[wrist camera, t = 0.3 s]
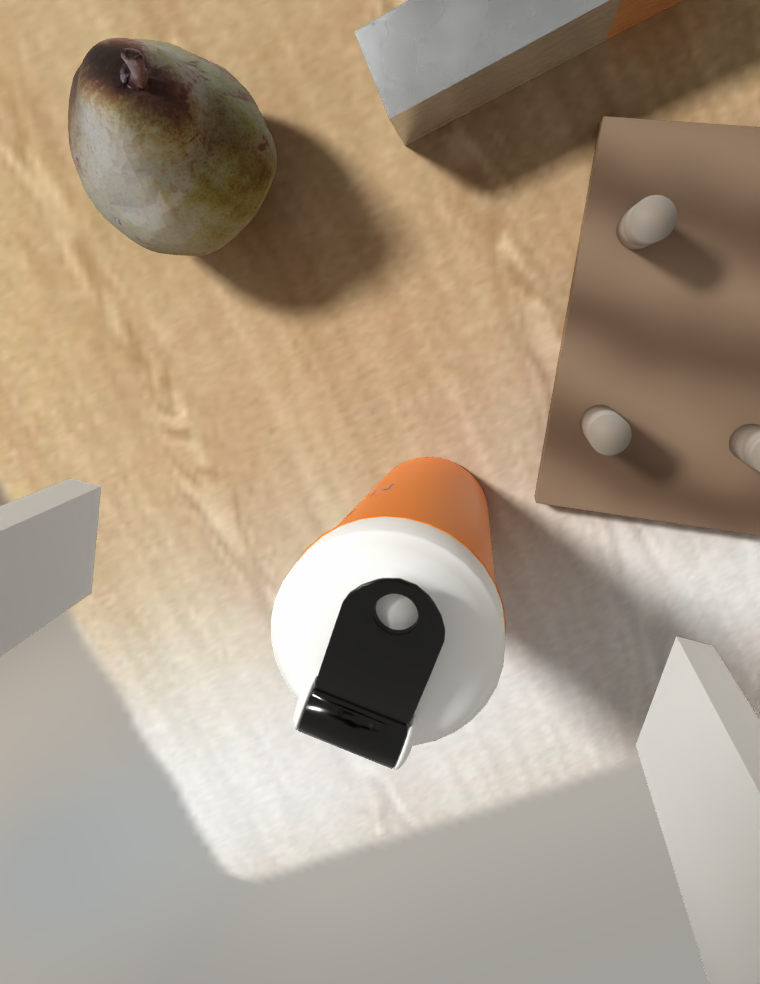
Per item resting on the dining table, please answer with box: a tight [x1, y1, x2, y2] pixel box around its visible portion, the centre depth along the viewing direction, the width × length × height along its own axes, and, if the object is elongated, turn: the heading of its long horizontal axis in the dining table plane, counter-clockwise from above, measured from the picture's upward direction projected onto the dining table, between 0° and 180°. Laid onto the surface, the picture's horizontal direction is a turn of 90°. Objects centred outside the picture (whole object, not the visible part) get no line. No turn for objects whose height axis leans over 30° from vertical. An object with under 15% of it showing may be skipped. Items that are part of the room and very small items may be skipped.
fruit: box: [68, 38, 277, 256], centre depth 33 cm, size 10×9×12 cm
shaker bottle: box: [271, 457, 506, 770], centre depth 33 cm, size 9×9×20 cm
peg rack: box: [535, 116, 760, 536], centre depth 34 cm, size 20×13×6 cm, turn 174°
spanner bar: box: [355, 0, 682, 146], centre depth 32 cm, size 16×4×6 cm, turn 114°
